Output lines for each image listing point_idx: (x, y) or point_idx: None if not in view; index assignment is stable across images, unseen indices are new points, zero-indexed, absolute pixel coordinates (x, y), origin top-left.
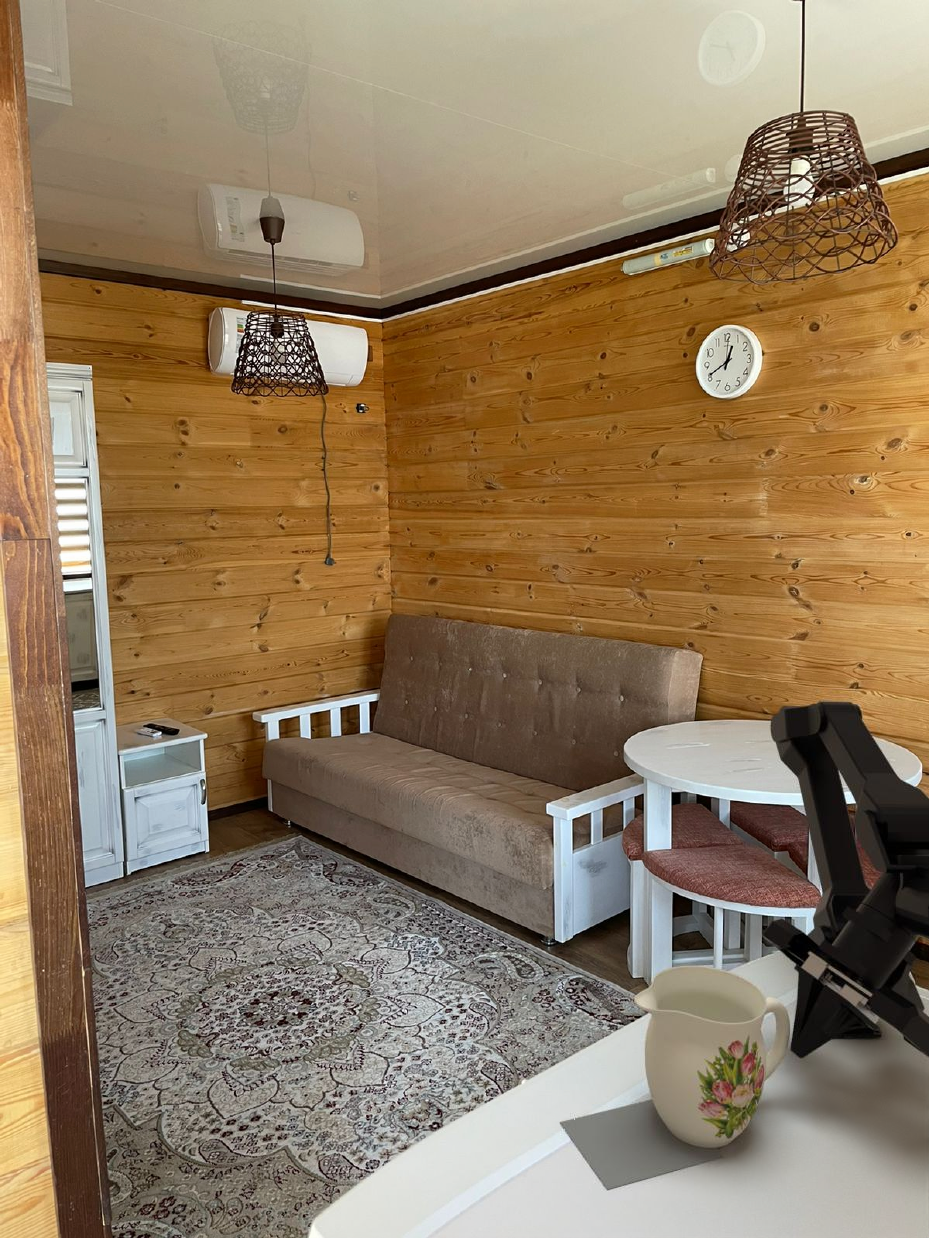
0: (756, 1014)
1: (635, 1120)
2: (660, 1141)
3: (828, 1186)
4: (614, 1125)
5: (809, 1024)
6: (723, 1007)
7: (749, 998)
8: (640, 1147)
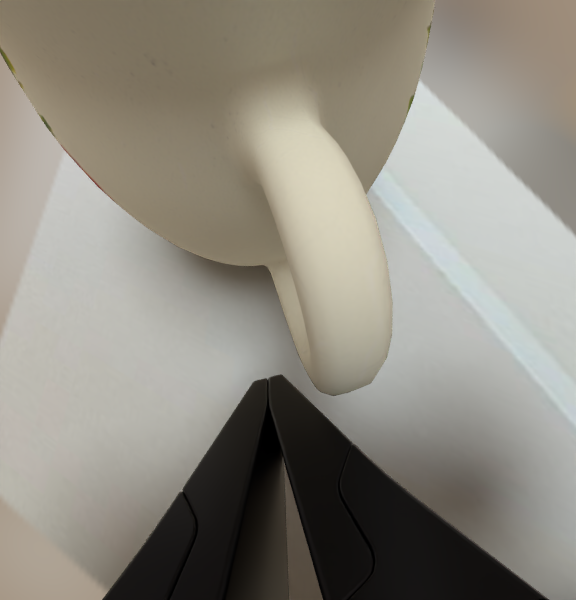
0: (151, 57)
1: None
2: None
3: (86, 349)
4: None
5: (223, 467)
6: (390, 91)
7: None
8: None
